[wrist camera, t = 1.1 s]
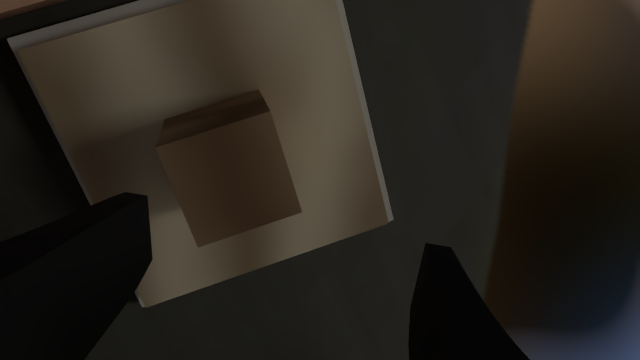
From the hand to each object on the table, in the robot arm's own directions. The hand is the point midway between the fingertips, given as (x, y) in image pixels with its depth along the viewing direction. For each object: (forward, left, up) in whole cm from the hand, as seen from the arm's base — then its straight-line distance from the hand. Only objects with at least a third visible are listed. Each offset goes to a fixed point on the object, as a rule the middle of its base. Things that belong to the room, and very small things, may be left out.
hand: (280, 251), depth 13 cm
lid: (-1, 0, -10) cm, 10 cm away
